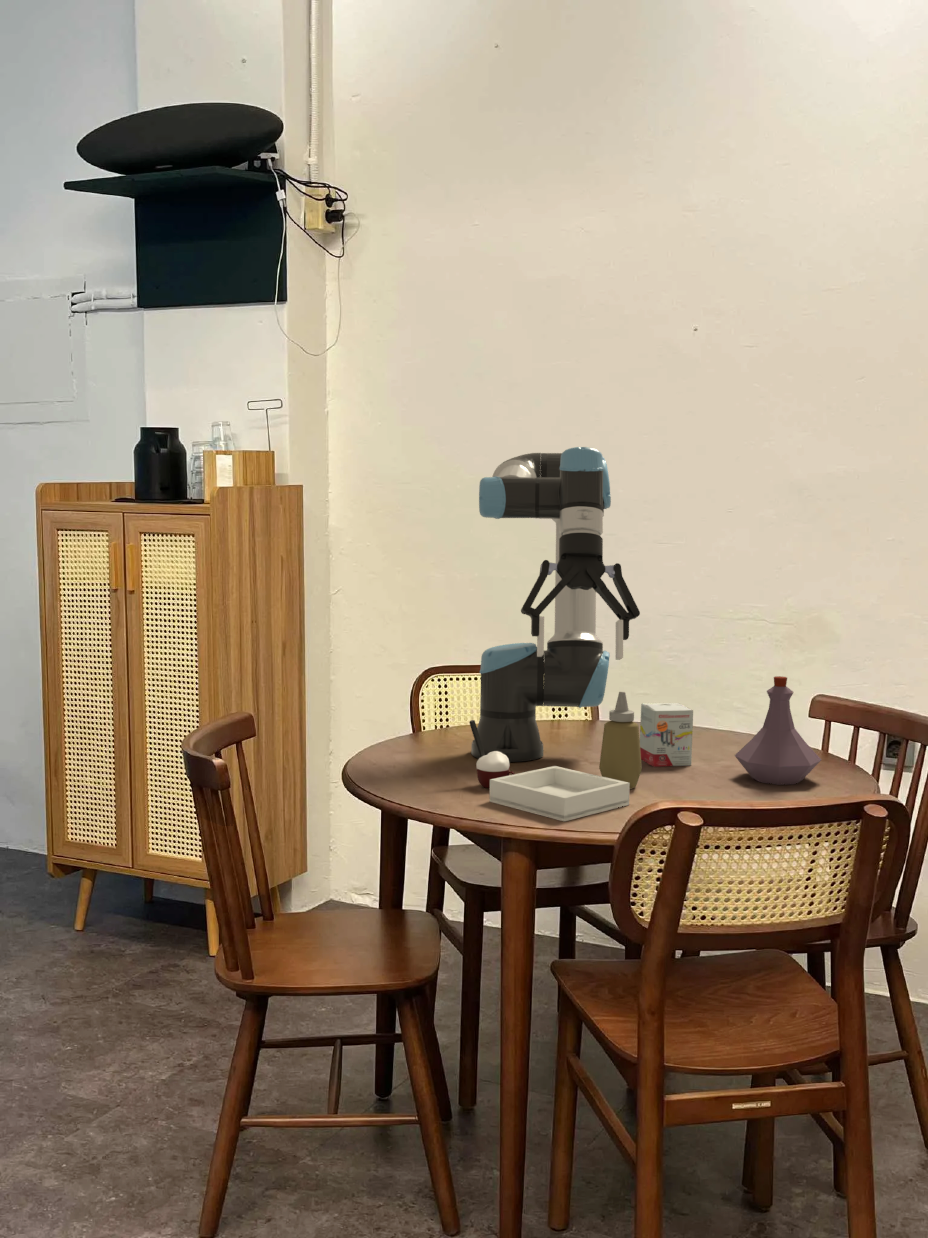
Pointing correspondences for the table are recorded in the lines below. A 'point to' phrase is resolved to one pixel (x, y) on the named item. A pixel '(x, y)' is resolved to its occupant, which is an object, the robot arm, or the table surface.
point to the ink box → (666, 734)
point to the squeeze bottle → (621, 745)
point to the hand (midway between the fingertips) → (579, 657)
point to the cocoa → (489, 762)
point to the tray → (559, 793)
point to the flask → (778, 744)
